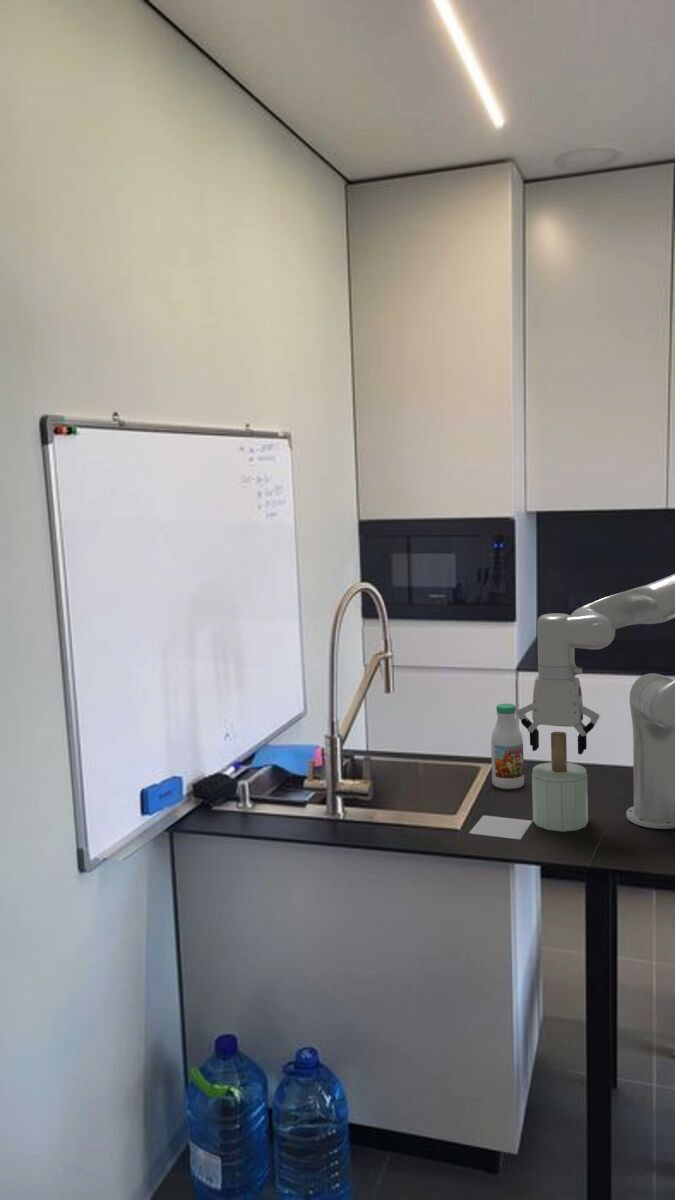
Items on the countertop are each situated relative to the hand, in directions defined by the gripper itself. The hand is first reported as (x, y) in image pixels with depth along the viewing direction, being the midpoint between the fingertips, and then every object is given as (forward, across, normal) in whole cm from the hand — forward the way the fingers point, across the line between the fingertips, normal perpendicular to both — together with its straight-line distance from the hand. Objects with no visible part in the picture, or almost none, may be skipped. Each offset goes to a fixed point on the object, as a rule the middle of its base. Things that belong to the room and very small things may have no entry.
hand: (558, 750), depth 194 cm
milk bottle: (+16, +17, -22) cm, 32 cm away
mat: (+16, +11, +7) cm, 21 cm away
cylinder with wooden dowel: (+16, 0, 0) cm, 16 cm away
